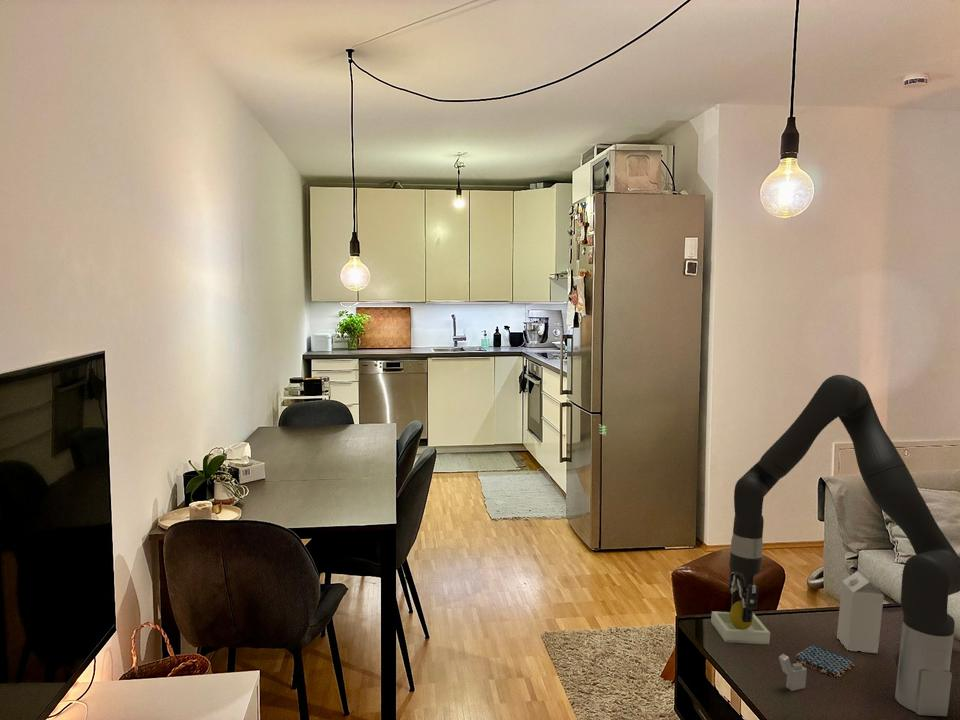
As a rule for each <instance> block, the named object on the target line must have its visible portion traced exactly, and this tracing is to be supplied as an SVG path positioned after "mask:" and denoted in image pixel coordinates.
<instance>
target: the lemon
mask: <svg viewBox="0 0 960 720" xmlns="http://www.w3.org/2000/svg"><path fill="white" fill-rule="evenodd" d="M730 607H731V606H730ZM742 610H743V602H742V599H741V601H738V602H736V603H734V604H733V605H732V607H731V608H730V611H729V612H730V620H731V623H732V624H733V626H734V627H736V628H737V629H740V630H744V629H747V628H749V627H750V626H751V624H752V621H753V613H754V612H753V611H752V621H751V622H743V621H742Z"/></svg>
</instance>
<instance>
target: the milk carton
mask: <svg viewBox="0 0 960 720" xmlns="http://www.w3.org/2000/svg"><path fill="white" fill-rule="evenodd" d="M871 579H872V578H871V576H869V574H867V572H865V571H864V570H862V568H861V567H859V566H857V570H856V571H855V572H854V573H852V574H850V575H849V576H848V577H846V578H844V579H843V580H842V581H841V590H840V591H841V592H840V601H839V610H838V611H839V612H838V620H837V621H838V623H837V631H836V633H837V634H836V638H837V640H838V639H839V640H840V641H839V640H838V641H839V642H840V643H841V644H842V646H843V645H844V646H843V647H844V648H845V649H846V651H848V650H849V651H850V652H857V651H861V652H860V653H870V654H871V653H872V654H878V653H879V643H880V635H881V625H882V615H883V605H884V596H885V595H884V594H883V592H882V591H880V590H879V589H878V588H877V586H875V585H874V584H873V583H872V582H871Z"/></svg>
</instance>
